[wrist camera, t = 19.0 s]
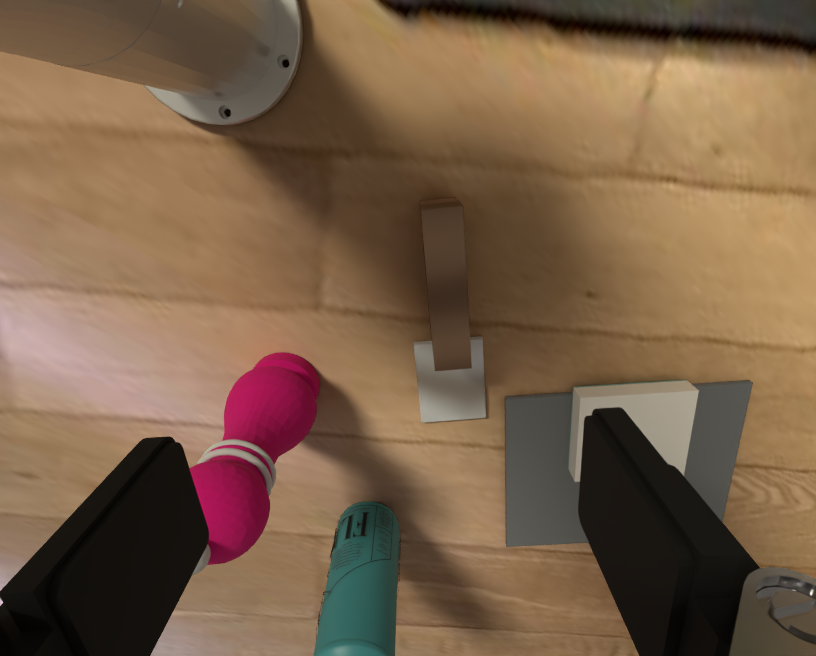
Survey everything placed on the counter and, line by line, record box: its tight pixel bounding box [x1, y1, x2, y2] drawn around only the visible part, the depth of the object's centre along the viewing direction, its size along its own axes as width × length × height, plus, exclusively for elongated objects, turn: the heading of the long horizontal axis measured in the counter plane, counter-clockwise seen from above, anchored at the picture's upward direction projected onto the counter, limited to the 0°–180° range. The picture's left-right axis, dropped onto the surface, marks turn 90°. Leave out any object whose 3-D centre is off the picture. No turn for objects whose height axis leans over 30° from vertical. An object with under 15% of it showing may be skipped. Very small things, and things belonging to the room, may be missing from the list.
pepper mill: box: [189, 353, 320, 575], centre depth 32 cm, size 7×7×20 cm
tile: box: [568, 380, 699, 482], centre depth 42 cm, size 2×10×9 cm
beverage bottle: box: [314, 502, 401, 656], centre depth 38 cm, size 6×7×20 cm
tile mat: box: [505, 380, 753, 547], centre depth 45 cm, size 18×22×1 cm
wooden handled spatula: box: [414, 197, 486, 423], centre depth 37 cm, size 20×6×6 cm, turn 6°
